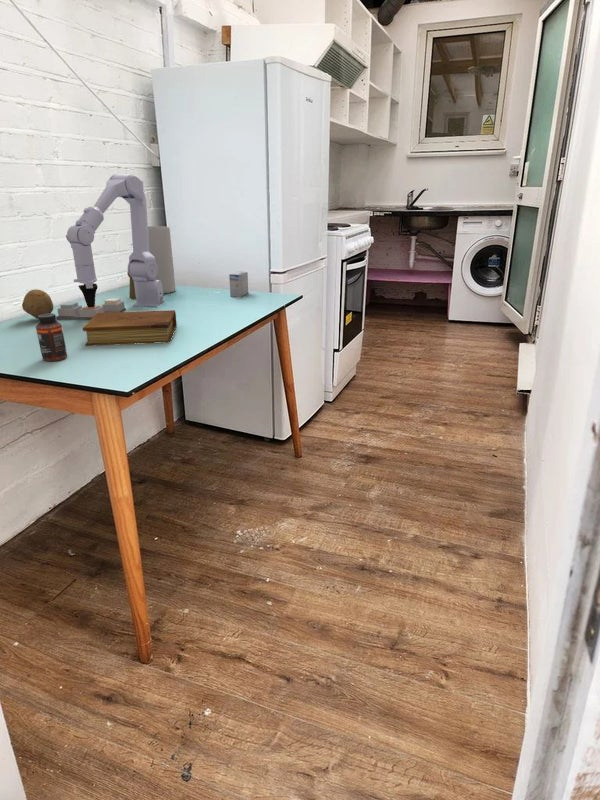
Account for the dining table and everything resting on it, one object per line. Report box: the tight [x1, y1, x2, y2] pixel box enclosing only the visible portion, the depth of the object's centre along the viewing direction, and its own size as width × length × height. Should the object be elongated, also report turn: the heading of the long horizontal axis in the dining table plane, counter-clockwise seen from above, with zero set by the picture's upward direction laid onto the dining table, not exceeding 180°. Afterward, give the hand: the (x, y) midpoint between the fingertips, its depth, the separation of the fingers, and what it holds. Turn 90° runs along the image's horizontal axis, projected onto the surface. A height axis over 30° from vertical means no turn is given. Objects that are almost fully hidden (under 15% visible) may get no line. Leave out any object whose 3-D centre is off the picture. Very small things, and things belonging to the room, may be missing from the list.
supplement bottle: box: [35, 312, 68, 362], centre depth 135 cm, size 6×6×11 cm
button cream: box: [104, 298, 122, 304], centre depth 184 cm, size 4×4×2 cm
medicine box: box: [228, 270, 249, 298], centre depth 210 cm, size 8×4×9 cm, turn 162°
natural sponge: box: [21, 288, 54, 320], centre depth 174 cm, size 9×9×10 cm
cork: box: [127, 271, 136, 300], centre depth 207 cm, size 6×6×11 cm
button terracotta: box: [82, 304, 101, 310], centre depth 178 cm, size 4×4×2 cm
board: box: [56, 300, 127, 321], centre depth 182 cm, size 18×14×3 cm
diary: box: [82, 309, 178, 347], centre depth 157 cm, size 23×19×6 cm
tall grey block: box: [140, 225, 176, 294], centre depth 215 cm, size 12×12×25 cm
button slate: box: [59, 301, 79, 309], centre depth 179 cm, size 4×4×2 cm
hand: (91, 306), depth 177 cm, fingers closed, pressing on button terracotta
